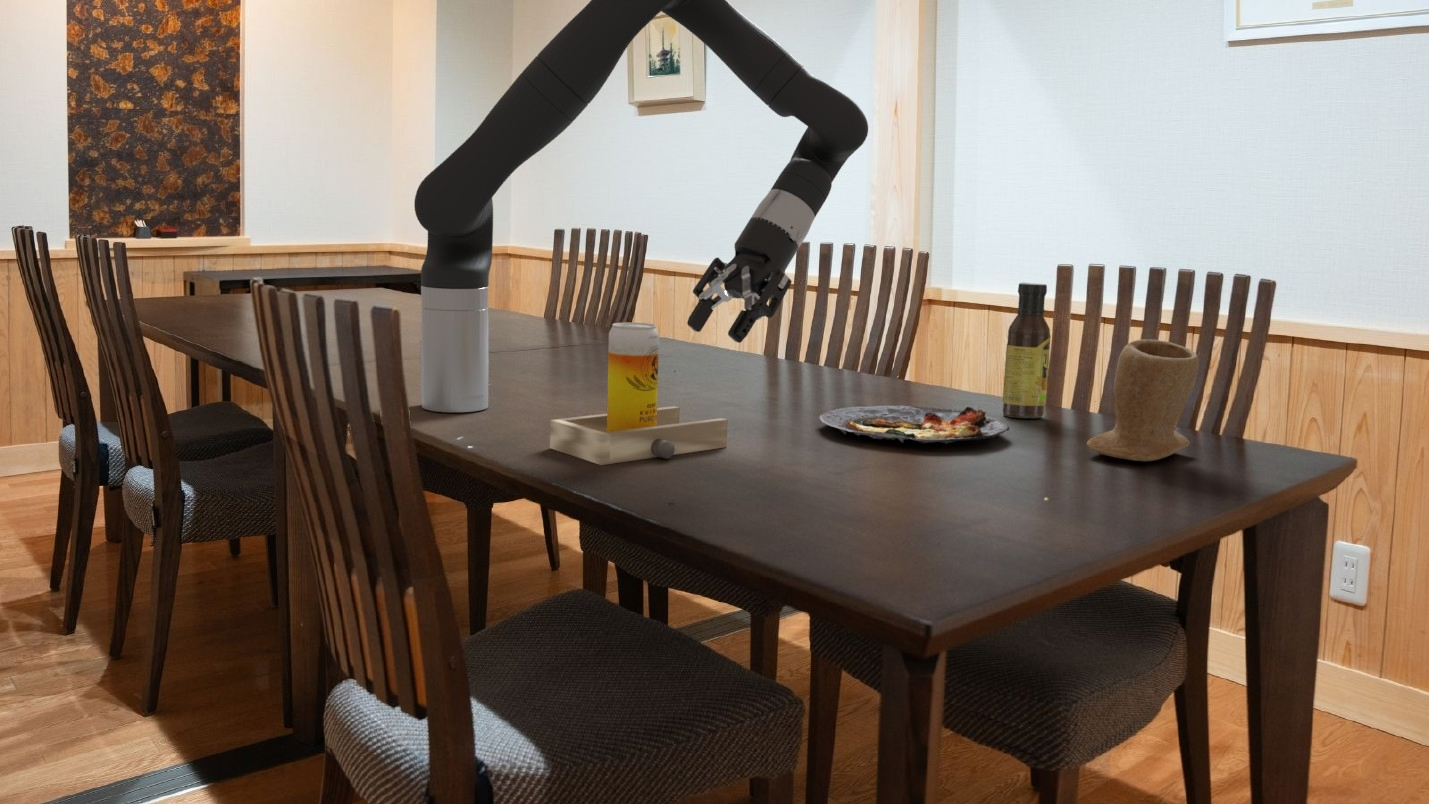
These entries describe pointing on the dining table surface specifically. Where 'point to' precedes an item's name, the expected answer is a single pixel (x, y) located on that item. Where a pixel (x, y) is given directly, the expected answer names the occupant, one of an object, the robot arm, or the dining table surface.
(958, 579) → the dining table surface
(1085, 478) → the dining table surface
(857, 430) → the food plate
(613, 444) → the wooden stick frame
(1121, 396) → the stone cup
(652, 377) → the beer can
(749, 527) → the dining table surface
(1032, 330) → the sauce bottle
